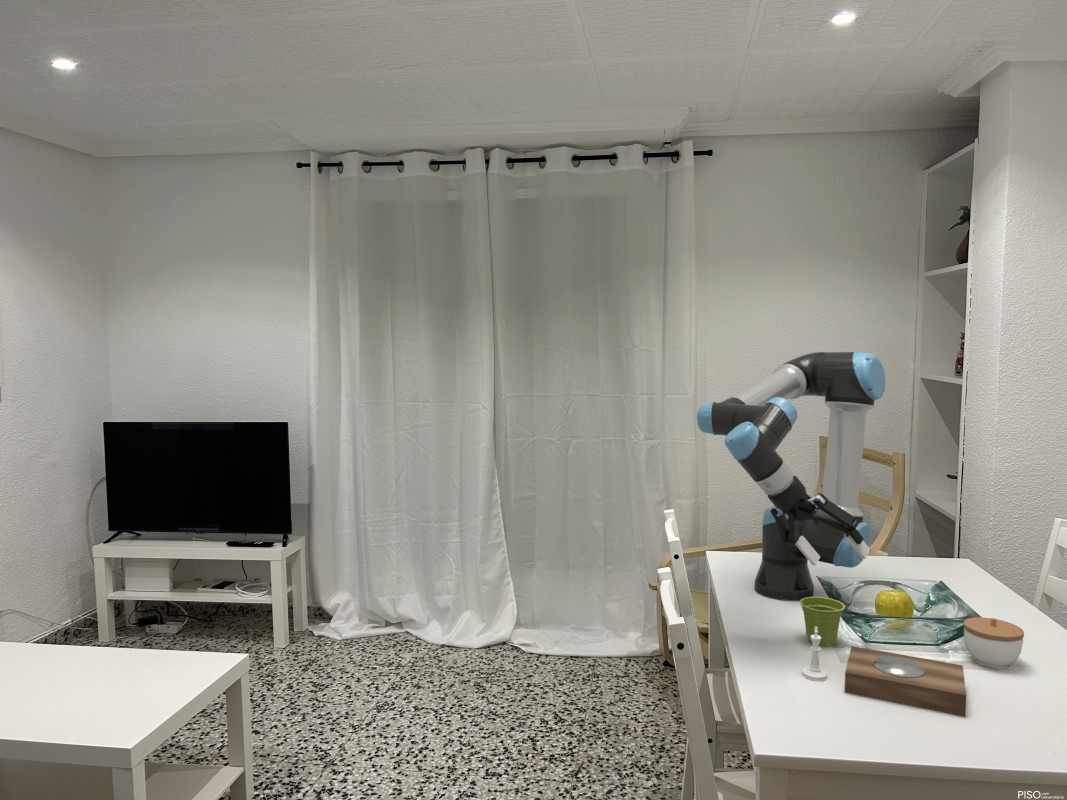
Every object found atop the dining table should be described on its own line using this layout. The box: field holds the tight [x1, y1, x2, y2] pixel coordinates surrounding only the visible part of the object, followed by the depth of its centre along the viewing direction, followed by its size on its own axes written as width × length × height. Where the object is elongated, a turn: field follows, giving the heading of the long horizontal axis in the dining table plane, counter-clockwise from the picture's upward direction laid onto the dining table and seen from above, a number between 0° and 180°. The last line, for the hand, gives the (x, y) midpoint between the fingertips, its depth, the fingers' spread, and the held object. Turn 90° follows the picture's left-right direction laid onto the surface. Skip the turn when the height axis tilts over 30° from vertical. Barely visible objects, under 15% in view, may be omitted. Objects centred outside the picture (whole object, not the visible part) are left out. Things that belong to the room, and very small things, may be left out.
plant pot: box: [799, 596, 846, 647], centre depth 166 cm, size 9×9×9 cm
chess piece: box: [801, 627, 829, 682], centre depth 149 cm, size 5×5×10 cm
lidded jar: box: [963, 616, 1025, 670], centre depth 155 cm, size 11×11×9 cm
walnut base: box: [844, 645, 967, 718], centre depth 143 cm, size 14×20×4 cm
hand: (841, 558), depth 162 cm, fingers open, 13 cm apart
